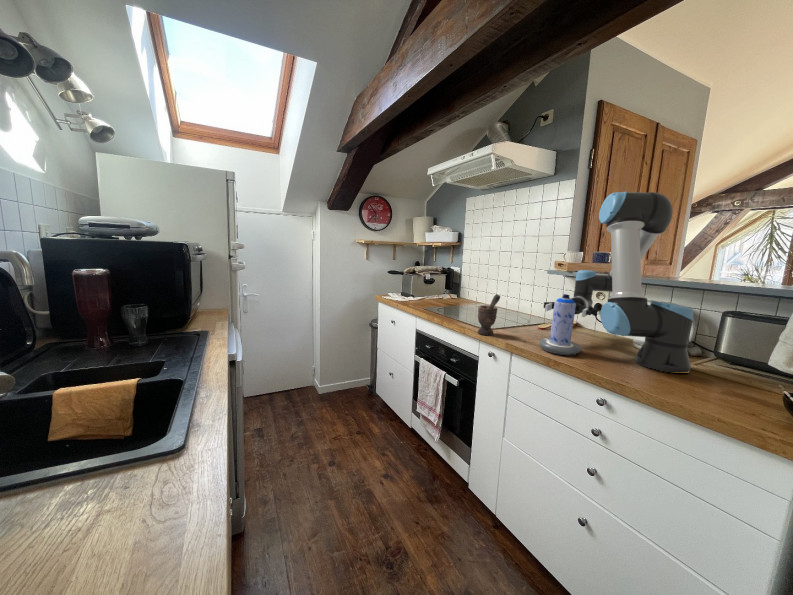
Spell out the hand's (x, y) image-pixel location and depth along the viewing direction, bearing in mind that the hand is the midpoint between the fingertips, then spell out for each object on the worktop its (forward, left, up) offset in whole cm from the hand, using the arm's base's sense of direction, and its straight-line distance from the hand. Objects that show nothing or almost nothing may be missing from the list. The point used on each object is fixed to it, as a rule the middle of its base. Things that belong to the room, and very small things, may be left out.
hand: (564, 310), depth 124 cm
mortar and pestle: (+27, +15, -17) cm, 35 cm away
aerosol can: (-1, +2, -13) cm, 14 cm away
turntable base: (-1, +2, -16) cm, 17 cm away
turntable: (-1, +2, -15) cm, 15 cm away
